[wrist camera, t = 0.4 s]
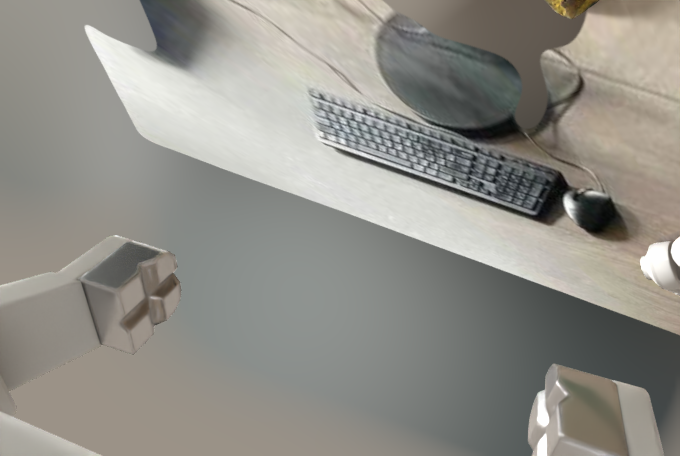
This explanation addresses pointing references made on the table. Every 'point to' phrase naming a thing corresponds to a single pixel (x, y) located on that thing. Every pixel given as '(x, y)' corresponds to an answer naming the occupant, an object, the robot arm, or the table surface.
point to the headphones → (663, 265)
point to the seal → (571, 7)
